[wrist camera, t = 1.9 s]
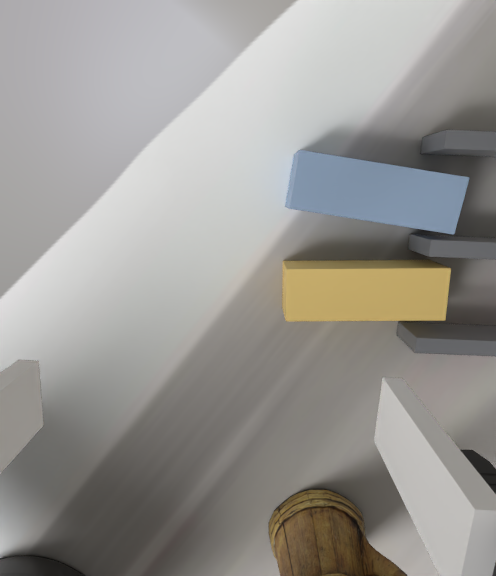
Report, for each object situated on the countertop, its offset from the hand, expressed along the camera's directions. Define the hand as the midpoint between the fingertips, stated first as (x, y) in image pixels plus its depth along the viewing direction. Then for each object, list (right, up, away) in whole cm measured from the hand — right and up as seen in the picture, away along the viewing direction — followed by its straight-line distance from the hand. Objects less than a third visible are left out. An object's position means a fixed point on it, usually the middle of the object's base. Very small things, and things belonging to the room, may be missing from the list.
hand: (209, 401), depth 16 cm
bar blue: (+11, +12, +17) cm, 23 cm away
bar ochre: (+10, +5, +19) cm, 22 cm away
